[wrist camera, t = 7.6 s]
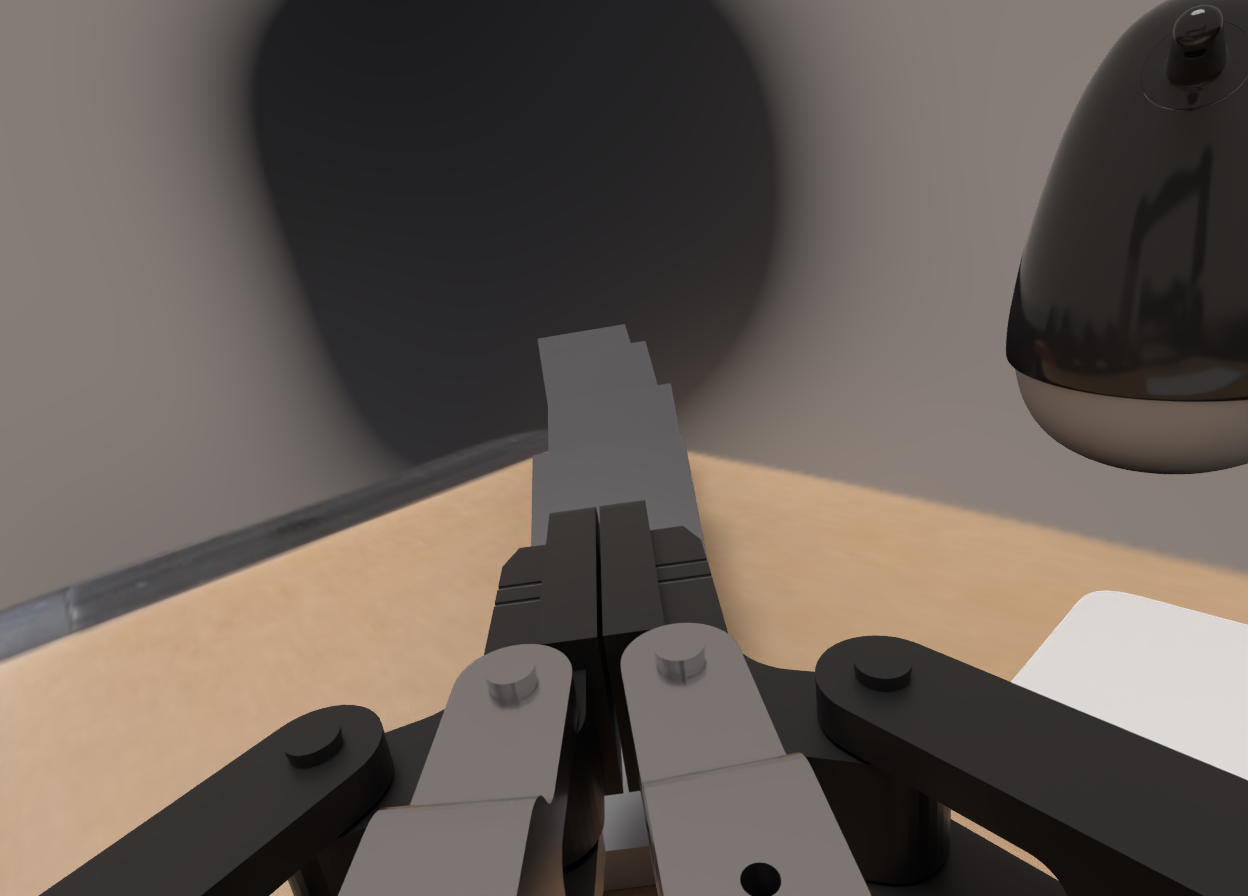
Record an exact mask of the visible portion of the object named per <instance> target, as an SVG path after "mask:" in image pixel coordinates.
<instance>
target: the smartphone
mask: <svg viewBox="0 0 1248 896" xmlns="http://www.w3.org/2000/svg"><path fill="white" fill-rule="evenodd" d="M1011 682H1012V683H1014V684H1016V685H1019V686H1021V687H1024V688H1026V689H1029V690H1031V691H1033V692H1036V693H1038V694H1041V695H1043V696H1045V697H1048V698H1050V699H1053V700H1055V701H1058V702H1060V703H1062V704H1065V705H1067V706H1070V707H1072V708H1074V709H1077V710H1079V711H1082V712H1084V713H1087V714H1089V715H1091V716H1094V717H1096V718H1099V719H1101V720H1103V721H1106V722H1108V723H1111V724H1113V725H1116V726H1118V727H1120V728H1123V729H1125V730H1128V731H1130V732H1132V733H1135V734H1137V735H1140V736H1142V737H1145V738H1147V739H1149V740H1152V741H1154V742H1157V743H1159V744H1162V745H1164V746H1166V747H1169V748H1171V749H1174V750H1176V751H1178V752H1181V753H1183V754H1186V755H1188V756H1191V757H1193V758H1195V759H1198V760H1200V761H1203V762H1205V763H1207V764H1210V765H1212V766H1215V767H1217V768H1220V769H1222V770H1224V771H1227V772H1229V773H1232V774H1234V775H1236V776H1239V777H1241V778H1244V779H1246V780H1248V625H1246V624H1243V623H1239V622H1235V621H1231V620H1228V619H1224V618H1220V617H1216V616H1213V615H1209V614H1205V613H1201V612H1198V611H1194V610H1190V609H1186V608H1183V607H1179V606H1175V605H1171V604H1168V603H1164V602H1160V601H1156V600H1153V599H1149V598H1145V597H1141V596H1137V595H1133V594H1129V593H1124V592H1118V591H1096V592H1092V593H1089V594H1087V595H1085V596H1084V597H1082V598H1081V599H1080V600H1079V601H1078V602H1077V603H1076V604H1075V606H1074V607H1073V608H1072V609H1071V610H1070V612H1069V613H1068V614H1067V615H1066V616H1065V618H1064V619H1063V620H1062V621H1061V622H1060V624H1059V625H1058V626H1057V627H1056V628H1055V630H1054V631H1053V632H1052V633H1051V634H1050V635H1049V637H1048V638H1047V639H1046V640H1045V641H1044V643H1043V644H1042V645H1041V646H1040V647H1039V649H1038V650H1037V651H1036V652H1035V653H1034V655H1033V656H1032V657H1031V658H1030V659H1029V661H1028V662H1027V663H1026V664H1025V665H1024V667H1023V668H1022V669H1021V670H1020V671H1019V673H1018V674H1017V675H1016V676H1015V677H1014V679H1013V680H1012V681H1011Z"/></svg>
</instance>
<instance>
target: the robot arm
mask: <svg viewBox="0 0 1248 896" xmlns="http://www.w3.org/2000/svg"><path fill="white" fill-rule="evenodd" d="M498 587H499V590H498V591H497V596H496V600H495V607H494V610H493V615H492V619H491V624H490V629H489V634H488V639H487V643H486V648H485V653H484V656H482V657H481V658H479V659H477V660H475V661H474V662H473V663H471V664H470V665H469V666H468V667H467V668H466V669H465V670H464V671H463V672H462V673H461V674H460V675H459V677H458V678H457V680H456V682H455V684H454V686H453V689H452V691H451V694H450V697H449V700H448V702H447V705H446V708H445V709H444V710H442V711H440V712H438V713H436V714H434V715H432V716H430V717H427V718H425V719H422V720H420V721H417V722H414V723H411V724H409V725H406V726H403V727H400V728H397V729H395V730H392V731H389V732H386V733H384V730H383V726H382V723H381V721H380V718H379V717H378V716H377V715H376V714H375V713H374V712H373V711H371V710H370V709H367V708H364V707H361V706H355V705H339V706H331V707H327V708H322V709H319V710H316V711H313V712H310V713H308V714H305V715H303V716H300V717H298V718H297V719H295V720H293V721H291V722H289V723H287V724H286V725H284V726H283V727H281V728H280V729H278V730H277V731H275V732H274V733H272V734H271V735H270V736H268V737H267V738H265V739H264V740H262V741H261V742H259V743H258V744H257V745H255V746H254V747H252V748H251V749H249V750H248V751H246V752H245V753H244V754H242V755H241V756H239V757H238V758H236V759H235V760H233V761H232V762H231V763H229V764H228V765H226V766H225V767H223V768H222V769H221V770H219V771H218V772H216V773H215V774H213V775H212V776H210V777H209V778H208V779H206V780H205V781H203V782H202V783H200V784H199V785H197V786H196V787H195V788H193V789H192V790H190V791H189V792H187V793H186V794H185V795H183V796H182V797H180V798H179V799H177V800H176V801H174V802H173V803H172V804H170V805H169V806H167V807H166V808H164V809H163V810H161V811H160V812H159V813H157V814H156V815H154V816H153V817H151V818H150V819H148V820H147V821H146V822H144V823H143V824H141V825H140V826H138V827H137V828H136V829H134V830H133V831H131V832H130V833H128V834H127V835H125V836H124V837H123V838H121V839H120V840H118V841H117V842H115V843H114V844H112V845H111V846H110V847H108V848H107V849H105V850H104V851H102V852H101V853H100V854H98V855H97V856H95V857H94V858H92V859H91V860H89V861H88V862H87V863H85V864H84V865H82V866H81V867H79V868H78V869H76V870H75V871H74V872H72V873H71V874H69V875H68V876H66V877H65V878H63V879H62V880H61V881H59V882H58V883H56V884H55V885H53V886H52V887H51V888H49V889H48V890H46V891H45V892H43V893H42V894H40V895H39V896H269V895H271V894H272V893H273V892H274V891H275V890H276V889H278V888H279V887H280V886H281V885H282V884H283V883H285V882H286V881H287V880H288V881H289V884H290V886H291V889H292V892H293V894H294V896H603V888H604V872H605V857H606V851H605V842H604V837H603V832H602V830H603V827H604V820H605V803H604V796H608V795H615V794H623V793H624V792H623V772H622V754H623V760H624V766H625V772H626V778H627V784H628V790H629V792H636V791H641V798H642V804H643V810H644V816H645V823H646V830H647V836H648V842H649V848H650V854H651V860H652V865H653V871H654V877H655V882H656V888H657V894H658V896H1248V780H1246V779H1244V778H1241V777H1239V776H1236V775H1234V774H1232V773H1229V772H1227V771H1224V770H1222V769H1220V768H1217V767H1215V766H1212V765H1210V764H1207V763H1205V762H1203V761H1200V760H1198V759H1195V758H1193V757H1191V756H1188V755H1186V754H1183V753H1181V752H1178V751H1176V750H1174V749H1171V748H1169V747H1166V746H1164V745H1162V744H1159V743H1157V742H1154V741H1152V740H1149V739H1147V738H1145V737H1142V736H1140V735H1137V734H1135V733H1132V732H1130V731H1128V730H1125V729H1123V728H1120V727H1118V726H1116V725H1113V724H1111V723H1108V722H1106V721H1103V720H1101V719H1099V718H1096V717H1094V716H1091V715H1089V714H1087V713H1084V712H1082V711H1079V710H1077V709H1074V708H1072V707H1070V706H1067V705H1065V704H1062V703H1060V702H1058V701H1055V700H1053V699H1050V698H1048V697H1045V696H1043V695H1041V694H1038V693H1036V692H1033V691H1031V690H1029V689H1026V688H1024V687H1021V686H1019V685H1016V684H1014V683H1012V682H1009V681H1007V680H1004V679H1002V678H1000V677H997V676H995V675H992V674H990V673H987V672H985V671H983V670H980V669H978V668H975V667H973V666H971V665H968V664H966V663H963V662H961V661H958V660H956V659H954V658H951V657H949V656H946V655H944V654H942V653H939V652H937V651H934V650H932V649H929V648H927V647H925V646H922V645H920V644H917V643H914V642H911V641H909V640H905V639H901V638H896V637H889V636H862V637H856V638H852V639H848V640H845V641H842V642H840V643H838V644H835V645H834V646H832V647H831V648H829V649H828V650H826V651H825V652H824V653H823V654H822V655H821V657H820V658H819V660H818V662H817V665H816V668H815V672H810V671H798V670H788V669H780V668H775V667H771V666H767V665H764V664H761V663H759V662H756V661H754V660H752V659H750V658H748V657H747V656H745V655H744V654H742V652H741V649H740V647H739V645H738V644H737V642H736V641H735V640H734V639H733V638H732V637H731V636H730V635H729V634H728V632H727V628H726V625H725V621H724V618H723V614H722V611H721V607H720V604H719V600H718V597H717V593H716V590H715V586H714V583H713V579H712V577H711V572H710V569H709V565H708V562H707V558H706V555H705V551H704V548H703V544H702V541H701V539H700V538H698V537H697V536H696V535H695V534H693V533H692V532H691V531H689V530H688V529H687V528H686V527H684V526H677V527H670V528H663V529H655V530H650V527H649V521H648V515H647V508H646V502H645V500H641V501H633V502H626V503H619V504H611V505H604V506H600V524H599V518H598V513H597V509H596V507H590V508H583V509H576V510H568V511H561V512H554V513H550V514H549V522H548V531H547V540H546V545H539V546H532V547H524V548H519V549H518V550H517V552H516V553H515V554H514V555H513V556H512V557H511V558H510V559H509V560H508V561H507V563H506V564H505V565H504V566H503V567H502V572H501V577H500V581H499V586H498ZM621 748H622V753H621ZM951 809H952V810H953V811H955V812H957V813H959V814H961V815H962V816H964V817H966V818H968V819H969V820H971V821H973V822H975V823H976V824H978V825H980V826H982V827H984V828H985V829H987V830H989V831H991V832H992V833H994V834H996V835H998V836H1000V837H1001V838H1003V839H1005V840H1007V841H1008V842H1010V843H1012V844H1014V845H1015V846H1017V847H1019V848H1021V849H1023V850H1024V851H1026V852H1028V853H1029V854H1031V855H1033V856H1034V857H1035V858H1037V859H1038V860H1039V861H1041V862H1042V863H1043V864H1044V865H1045V866H1046V867H1047V868H1048V869H1049V870H1050V871H1051V872H1052V873H1053V874H1054V875H1055V876H1056V878H1057V879H1058V880H1059V881H1058V880H1056V879H1054V878H1053V877H1051V876H1049V875H1047V874H1046V873H1044V872H1042V871H1040V870H1039V869H1037V868H1035V867H1033V866H1032V865H1030V864H1028V863H1026V862H1025V861H1023V860H1021V859H1020V858H1018V857H1016V856H1014V855H1013V854H1011V853H1009V852H1007V851H1006V850H1004V849H1002V848H1000V847H999V846H997V845H995V844H993V843H992V842H990V841H988V840H986V839H985V838H983V837H981V836H979V835H978V834H976V833H974V832H972V831H971V830H969V829H967V828H966V827H964V826H962V825H960V824H959V823H957V822H955V821H953V820H952V819H950V818H951Z"/></svg>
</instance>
